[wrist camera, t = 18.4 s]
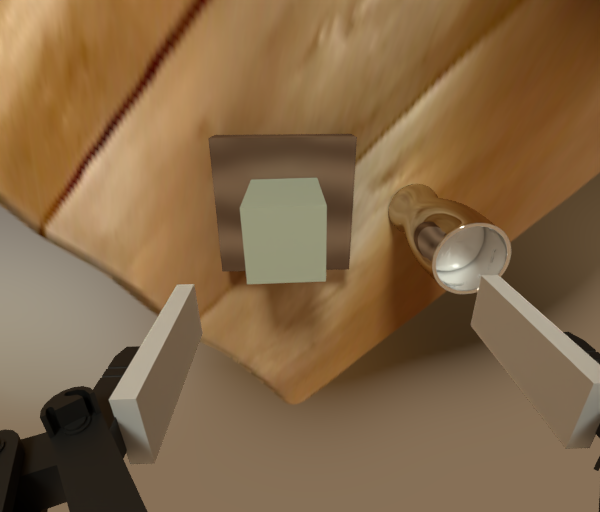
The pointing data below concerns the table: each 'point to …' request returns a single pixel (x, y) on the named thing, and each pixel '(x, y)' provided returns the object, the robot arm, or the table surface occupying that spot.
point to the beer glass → (449, 238)
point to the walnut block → (281, 165)
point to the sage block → (284, 231)
